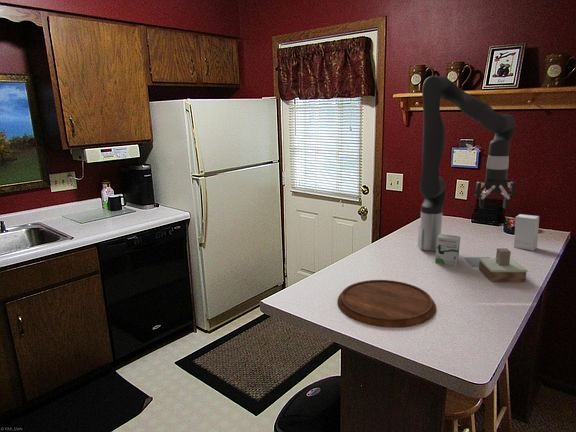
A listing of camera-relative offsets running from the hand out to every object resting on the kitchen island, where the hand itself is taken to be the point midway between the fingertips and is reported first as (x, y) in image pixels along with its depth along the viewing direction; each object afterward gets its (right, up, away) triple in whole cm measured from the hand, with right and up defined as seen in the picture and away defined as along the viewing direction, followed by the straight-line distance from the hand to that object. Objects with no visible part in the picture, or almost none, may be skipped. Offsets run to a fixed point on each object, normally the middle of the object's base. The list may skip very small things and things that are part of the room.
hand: (493, 208), depth 165 cm
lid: (-1, -22, -9) cm, 24 cm away
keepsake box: (-1, -26, -8) cm, 27 cm away
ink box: (-16, -23, +7) cm, 29 cm away
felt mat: (-2, -23, +7) cm, 24 cm away
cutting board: (-49, -33, -25) cm, 64 cm away
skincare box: (+26, -18, +23) cm, 39 cm away
